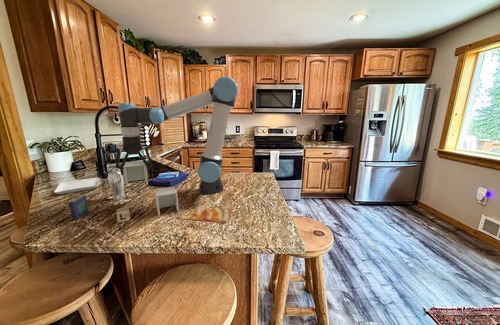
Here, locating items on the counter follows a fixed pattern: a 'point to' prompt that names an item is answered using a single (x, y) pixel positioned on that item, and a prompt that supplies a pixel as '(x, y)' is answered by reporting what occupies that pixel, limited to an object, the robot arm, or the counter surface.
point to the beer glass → (116, 184)
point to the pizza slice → (210, 215)
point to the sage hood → (135, 171)
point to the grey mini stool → (166, 198)
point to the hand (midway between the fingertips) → (136, 179)
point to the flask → (78, 207)
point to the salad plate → (77, 186)
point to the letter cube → (123, 214)
